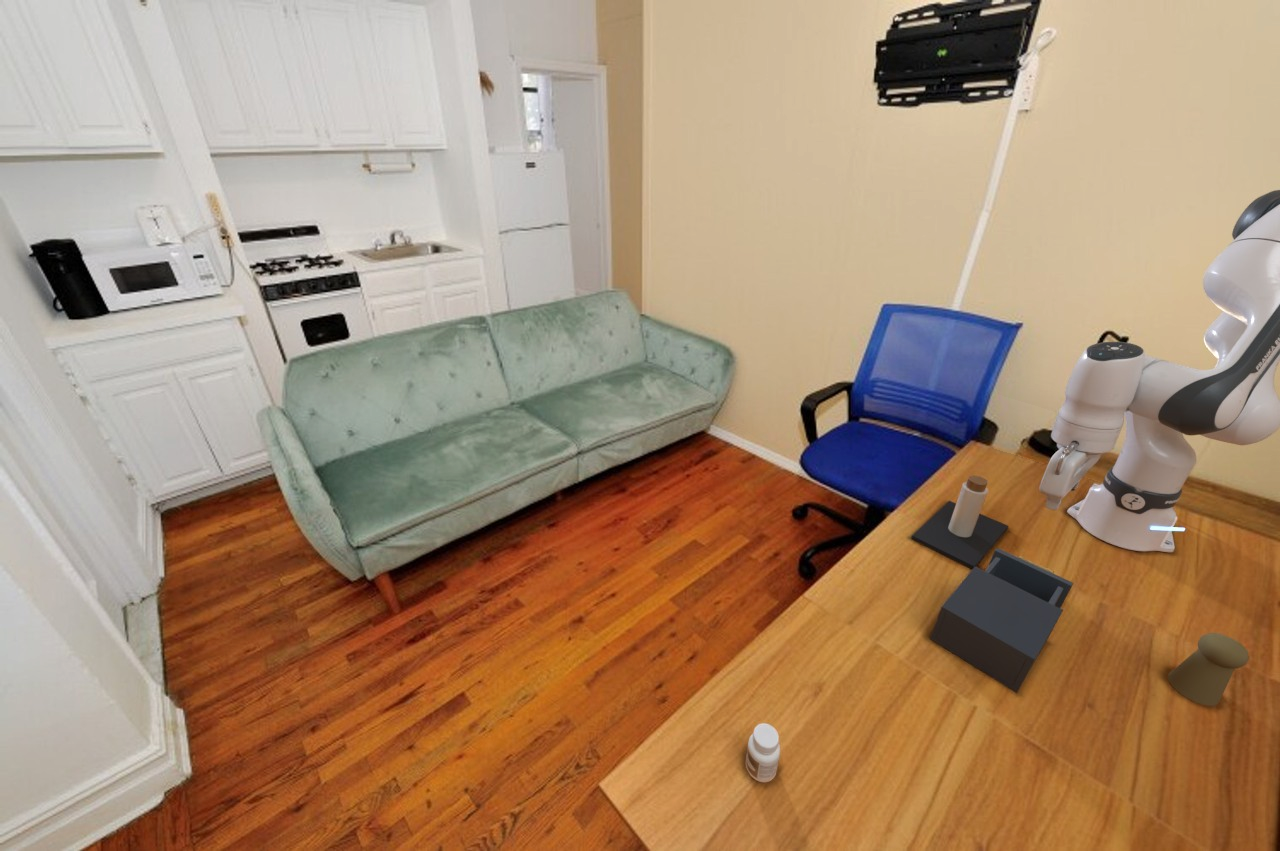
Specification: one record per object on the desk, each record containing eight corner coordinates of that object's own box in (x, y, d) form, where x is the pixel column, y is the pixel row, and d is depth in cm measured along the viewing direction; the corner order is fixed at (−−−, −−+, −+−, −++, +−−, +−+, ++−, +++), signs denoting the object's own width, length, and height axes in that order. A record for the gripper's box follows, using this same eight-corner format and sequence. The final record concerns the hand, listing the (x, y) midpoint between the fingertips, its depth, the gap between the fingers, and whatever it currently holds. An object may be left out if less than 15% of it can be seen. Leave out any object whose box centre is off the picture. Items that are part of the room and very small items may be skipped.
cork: (1230, 709, 79) (1270, 663, 74) (1184, 702, 80) (1221, 656, 75) (1200, 674, 84) (1236, 629, 79) (1158, 668, 85) (1190, 623, 80)
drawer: (994, 561, 107) (1004, 538, 104) (1067, 596, 98) (1080, 571, 95) (960, 604, 97) (969, 580, 94) (1037, 647, 88) (1050, 622, 85)
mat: (948, 503, 126) (949, 500, 125) (1007, 529, 117) (1008, 525, 117) (910, 538, 115) (912, 535, 114) (973, 570, 106) (974, 566, 105)
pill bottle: (741, 752, 75) (746, 721, 71) (770, 749, 75) (776, 718, 71) (750, 785, 71) (755, 753, 67) (780, 781, 71) (787, 750, 67)
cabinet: (962, 597, 99) (975, 566, 96) (1045, 642, 90) (1063, 609, 86) (929, 638, 91) (941, 606, 87) (1017, 693, 82) (1034, 659, 78)
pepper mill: (961, 522, 118) (979, 472, 111) (977, 535, 114) (996, 484, 107) (943, 525, 117) (960, 475, 111) (958, 538, 113) (976, 487, 106)
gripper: (1086, 459, 82) (1061, 528, 88) (1124, 421, 93) (1099, 484, 99) (1041, 446, 87) (1020, 512, 93) (1081, 411, 97) (1060, 472, 103)
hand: (1061, 497), depth 96 cm, fingers open, 8 cm apart
